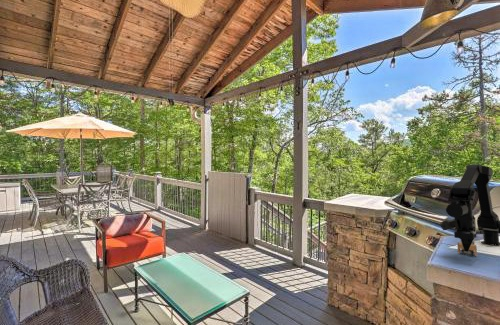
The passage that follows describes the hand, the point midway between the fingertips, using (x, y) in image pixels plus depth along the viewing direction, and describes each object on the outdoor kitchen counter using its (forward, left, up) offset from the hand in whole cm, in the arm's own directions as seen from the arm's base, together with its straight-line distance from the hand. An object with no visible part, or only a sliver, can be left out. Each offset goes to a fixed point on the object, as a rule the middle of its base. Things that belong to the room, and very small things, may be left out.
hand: (466, 251), depth 113 cm
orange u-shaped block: (-7, -2, -3) cm, 8 cm away
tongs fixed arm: (-14, -4, -3) cm, 15 cm away
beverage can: (-42, -13, -4) cm, 44 cm away
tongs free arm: (-16, -7, -3) cm, 17 cm away
